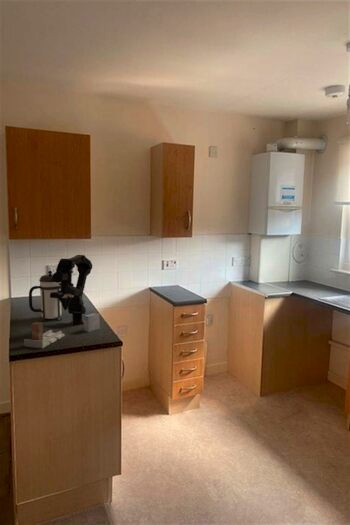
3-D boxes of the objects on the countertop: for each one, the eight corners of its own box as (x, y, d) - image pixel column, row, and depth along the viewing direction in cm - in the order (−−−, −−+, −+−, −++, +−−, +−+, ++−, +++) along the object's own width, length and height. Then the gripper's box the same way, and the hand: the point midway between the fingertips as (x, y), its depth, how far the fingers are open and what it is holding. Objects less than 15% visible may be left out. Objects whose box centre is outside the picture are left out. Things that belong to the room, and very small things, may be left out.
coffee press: (51, 314, 245) (50, 268, 241) (69, 317, 237) (68, 270, 233) (29, 320, 230) (27, 271, 226) (47, 324, 222) (45, 273, 218)
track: (48, 334, 205) (47, 327, 204) (64, 335, 202) (64, 329, 202) (24, 346, 185) (23, 339, 185) (42, 348, 183) (41, 341, 182)
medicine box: (95, 327, 217) (94, 312, 216) (100, 329, 214) (99, 314, 213) (83, 330, 211) (83, 315, 210) (88, 332, 208) (88, 317, 207)
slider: (35, 340, 190) (34, 322, 188) (43, 341, 188) (42, 322, 187) (30, 343, 186) (29, 324, 185) (38, 344, 185) (37, 325, 183)
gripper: (65, 283, 196) (65, 313, 197) (88, 281, 213) (88, 309, 214) (49, 281, 201) (48, 311, 202) (73, 280, 218) (72, 307, 218)
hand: (65, 309), depth 209 cm, fingers closed
